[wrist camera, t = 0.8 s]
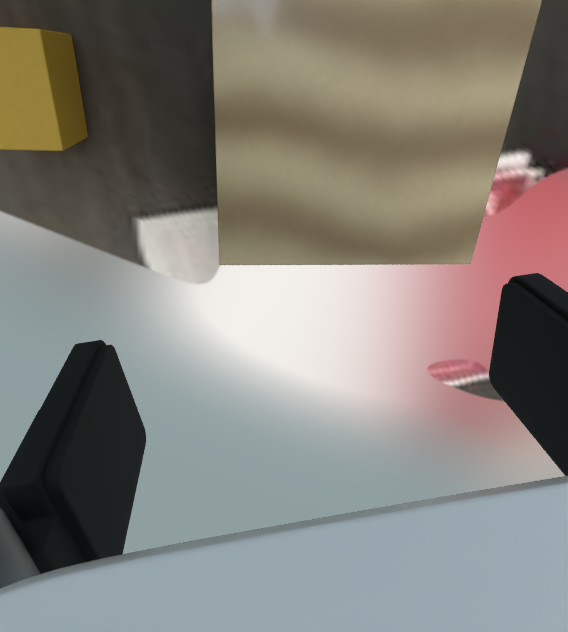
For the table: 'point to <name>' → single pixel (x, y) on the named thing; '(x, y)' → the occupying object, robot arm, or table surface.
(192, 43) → the table surface
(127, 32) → the table surface
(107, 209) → the table surface
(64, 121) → the yellow block
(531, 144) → the table surface
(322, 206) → the cabinet
